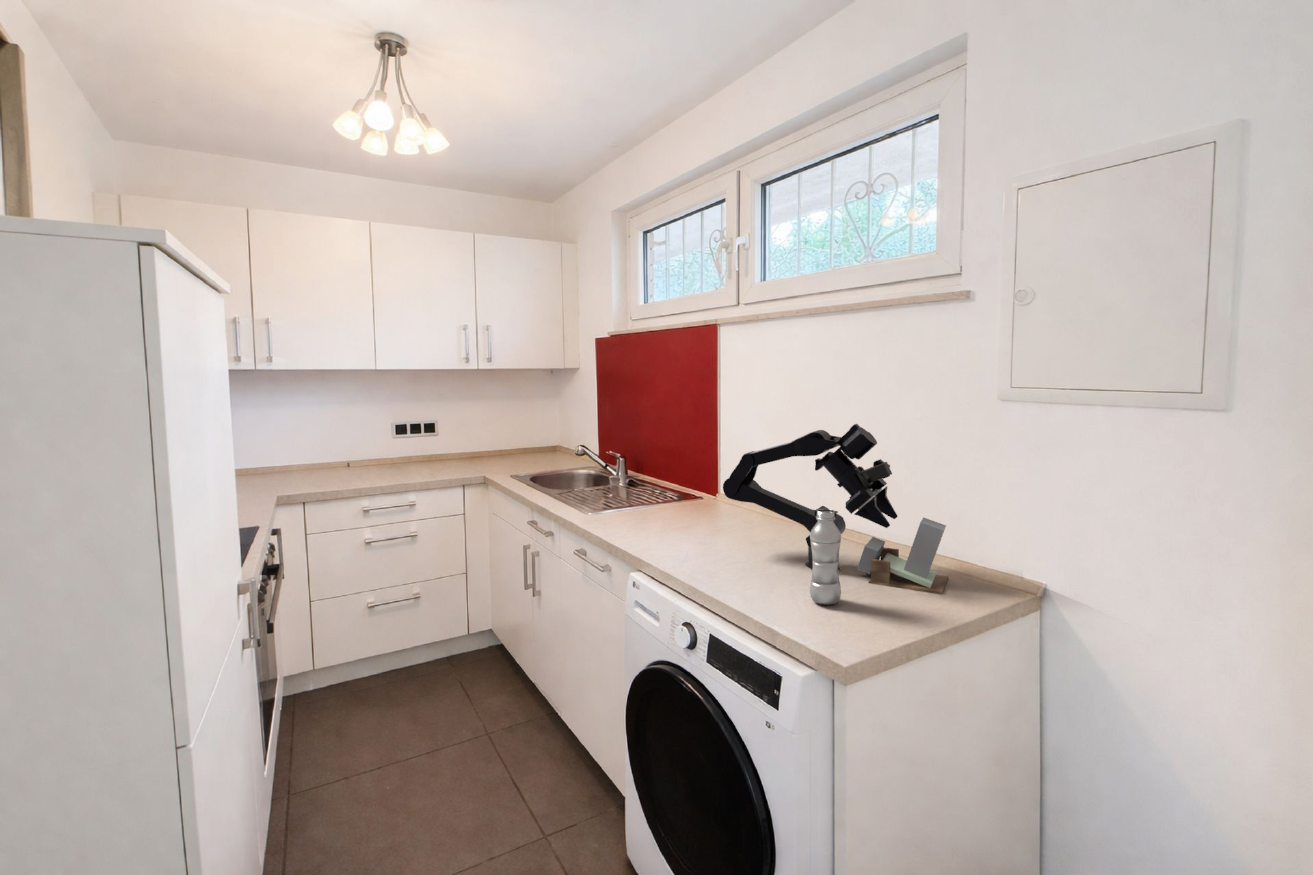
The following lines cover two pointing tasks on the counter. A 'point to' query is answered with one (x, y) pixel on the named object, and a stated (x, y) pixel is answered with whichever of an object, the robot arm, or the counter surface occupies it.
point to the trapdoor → (896, 563)
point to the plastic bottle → (825, 559)
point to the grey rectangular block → (924, 547)
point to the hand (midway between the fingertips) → (892, 522)
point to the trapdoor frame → (887, 578)
